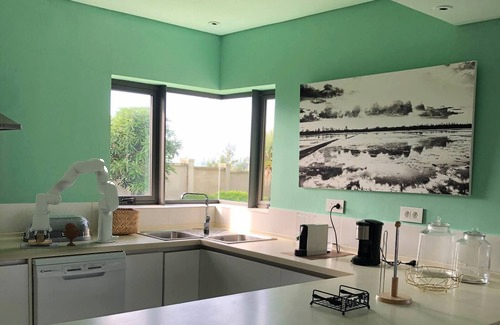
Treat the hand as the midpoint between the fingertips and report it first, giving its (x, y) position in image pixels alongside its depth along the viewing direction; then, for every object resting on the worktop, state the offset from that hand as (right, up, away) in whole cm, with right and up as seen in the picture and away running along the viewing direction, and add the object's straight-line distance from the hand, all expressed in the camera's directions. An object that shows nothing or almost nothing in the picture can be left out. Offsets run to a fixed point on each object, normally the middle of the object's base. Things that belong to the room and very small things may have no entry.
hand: (40, 240), depth 322 cm
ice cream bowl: (+17, -4, +7) cm, 19 cm away
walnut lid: (0, -1, 0) cm, 1 cm away
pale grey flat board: (0, -3, 0) cm, 3 cm away
